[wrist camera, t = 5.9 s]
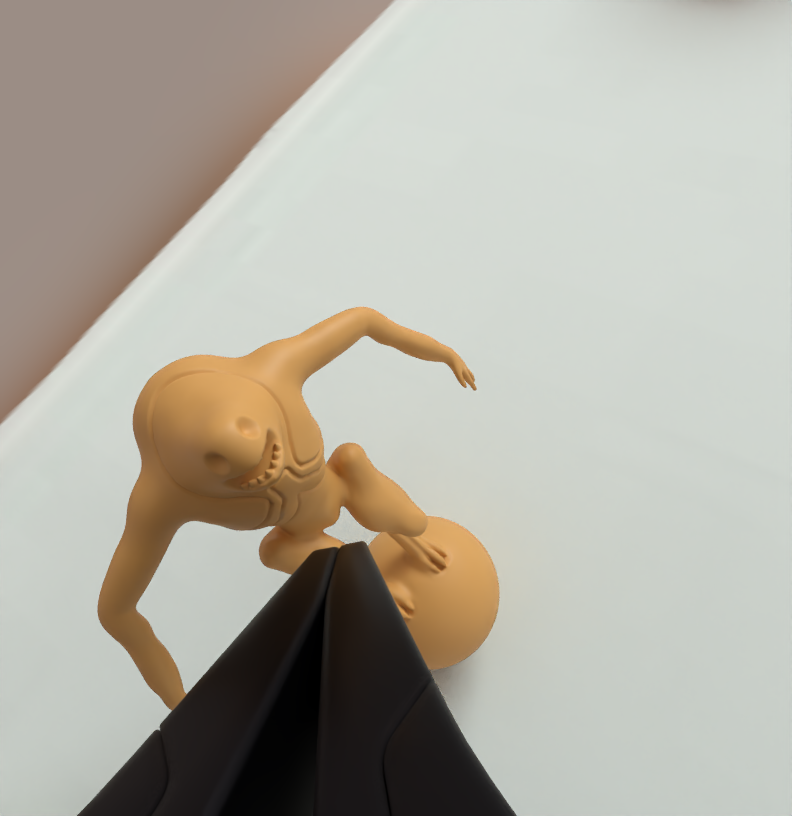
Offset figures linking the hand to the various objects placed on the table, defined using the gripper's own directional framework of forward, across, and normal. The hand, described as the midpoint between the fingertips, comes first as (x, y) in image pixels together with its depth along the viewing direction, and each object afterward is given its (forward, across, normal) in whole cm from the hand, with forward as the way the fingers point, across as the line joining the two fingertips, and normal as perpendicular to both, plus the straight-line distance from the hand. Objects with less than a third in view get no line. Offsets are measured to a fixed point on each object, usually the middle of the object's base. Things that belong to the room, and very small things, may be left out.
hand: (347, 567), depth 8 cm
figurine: (+7, 0, +6) cm, 9 cm away
